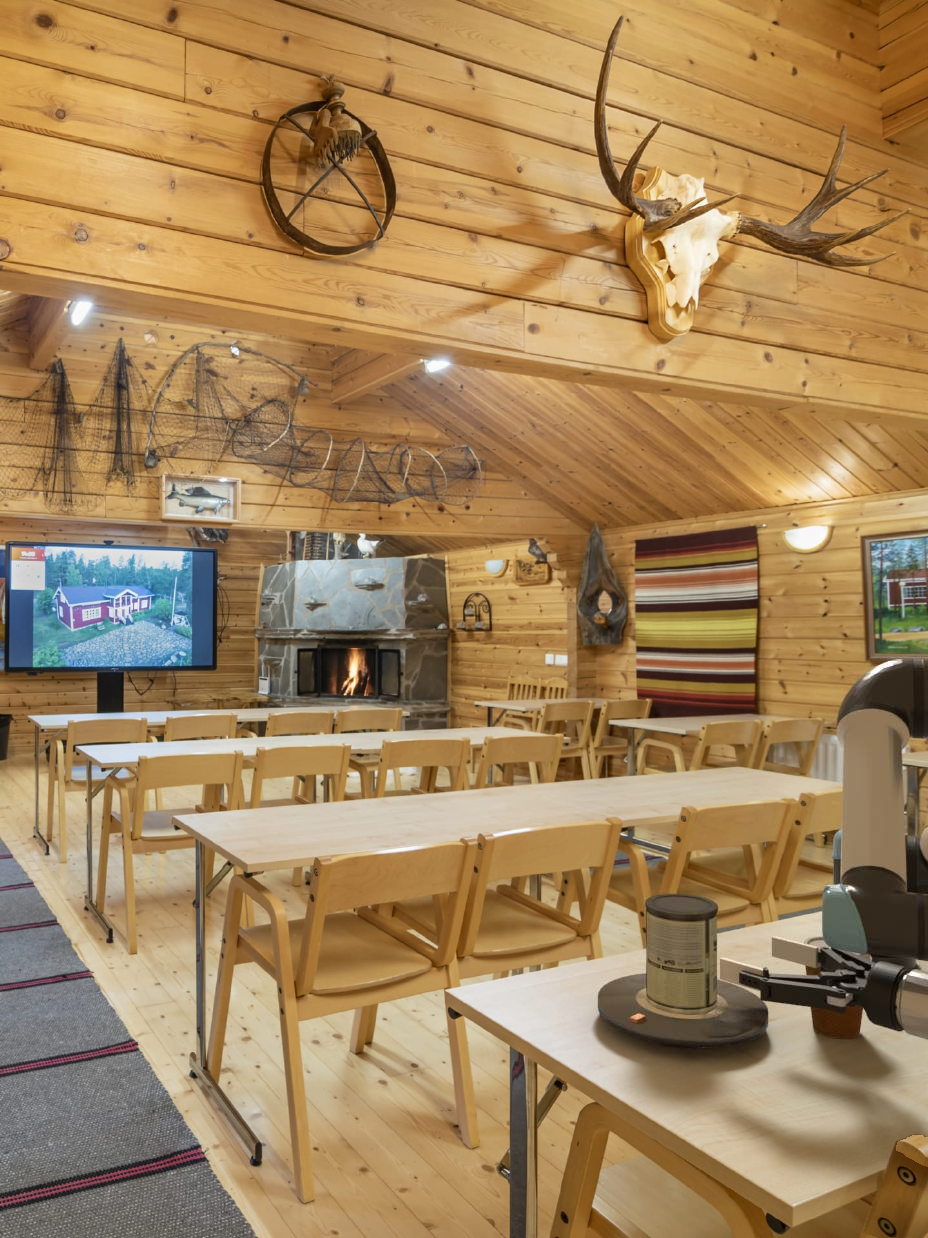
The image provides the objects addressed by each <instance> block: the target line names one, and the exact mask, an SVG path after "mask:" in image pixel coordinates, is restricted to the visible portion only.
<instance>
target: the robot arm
mask: <svg viewBox="0 0 928 1238" xmlns="http://www.w3.org/2000/svg"><path fill="white" fill-rule="evenodd" d="M835 729H836V739H837V741H838V742H839V744H840V745H841V747H843V759H842V762H843V763H842V766H843V767H842V802H841V803H842V807H841V810H842V811H841V828H840V829H839V830H838V831H836V833H835V834H834V836H833V842H832V843H833V845H832V848H833V849H832V853H831V858H832V859H833V864H832V865H833V866H832V867H833V868H832V869H833V870H832V873H833V877H832V881H833V883H832V884H827V885H825V886H824V887H823V889H822V898H821V900H822V902H821V903H822V904H821V905H822V906H821V928H822V929H821V931H822V936H823V939H824V941H825V943H826V944H827V945H828V946H829V947H831V949H829V948H828V947H821V948H820V949H818V947H816V946H812V945H808V944H804V942H800V941H795V940H791V939H787V938H784V937H780V936H776V935H774V936H772V937H771V957H773V958H775V959H776V958H777V959H780V960H784V961H788V962H792V963H794V964H798V965H803V966H805V965H806V966H809V967H813V968H817V967H818V962H820V971H821V972H820V973H819V974H818V975H817V976H814V975H806V974H790V973H789V974H788V973H786V974H785V973H771V972H770V970H769V967H767V966H765V967H759V966H755V965H753V964H748V963H746V962H745V963H744V962H742V961H741V962H740V961H738V960H735V959H734V960H733V959H732V958H731V959H730V958H727V957H720V958H719V980H721V981H725V982H728V983H731V984H734V985H737V986H740V987H741V986H742V987H743V988H744V987H745V988H748V989H751V990H754V991H757V992H759V993H760V995H759V998H760V999H761V1000H762V1001H763V1002H768V1003H769V1002H771V1003H775V1004H784V1005H792V1006H799V1007H807V1008H811V1007H813V1008H821V1009H827V1010H831V1011H834V1012H838V1013H846V1006H856V1005H857V1006H862V1007H863V1011H865V1013H866V1017H867V1019H868V1020H869V1022H870V1023H871V1024H873V1025H876V1026H879V1027H883V1028H886V1029H889V1030H891V1031H895V1032H899V1033H902V1032H903V1031H904V1032H905V1033H906V1034H907V1035H910V1036H913V1037H917V1038H920V1039H923V1040H927V1041H928V971H926V970H921V969H918V968H916V967H917V960H918V961H923V962H928V826H927V827H925V828H924V830H923V831H922V833H921V834H920V835H909V834H908V835H907V834H906V829H905V827H906V826H905V825H906V824H905V797H904V796H905V795H904V770H903V768H904V767H903V750H904V749H905V748H906V747H907V745H908V744H909V741H910V738H912V739H924V740H925V739H926V741H927V743H928V658H912V657H911V658H908V657H906V658H905V657H904V658H897V659H891V660H888V661H885V662H883V663H881V664H879V665H876V666H874V667H873V668H871V669H870V670H868V671H867V672H865V673H864V674H862V675H861V677H860V678H858V679H857V680H856V681H855V682H854V683H853V685H852V686H851V687H850V689H849V690H848V691H847V692H846V694H845V696H844V698H843V700H842V701H841V704H840V705H839V709H838V713H837V717H836V728H835ZM853 952H854V953H853ZM855 953H859V954H862V955H865V954H869V955H870V956H871V957H872V961H870V960H868V959H866V958H863V957H861V956H859V955H857V954H855ZM840 955H841V957H840ZM915 968H916V969H915ZM822 971H823V972H822Z"/></svg>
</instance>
